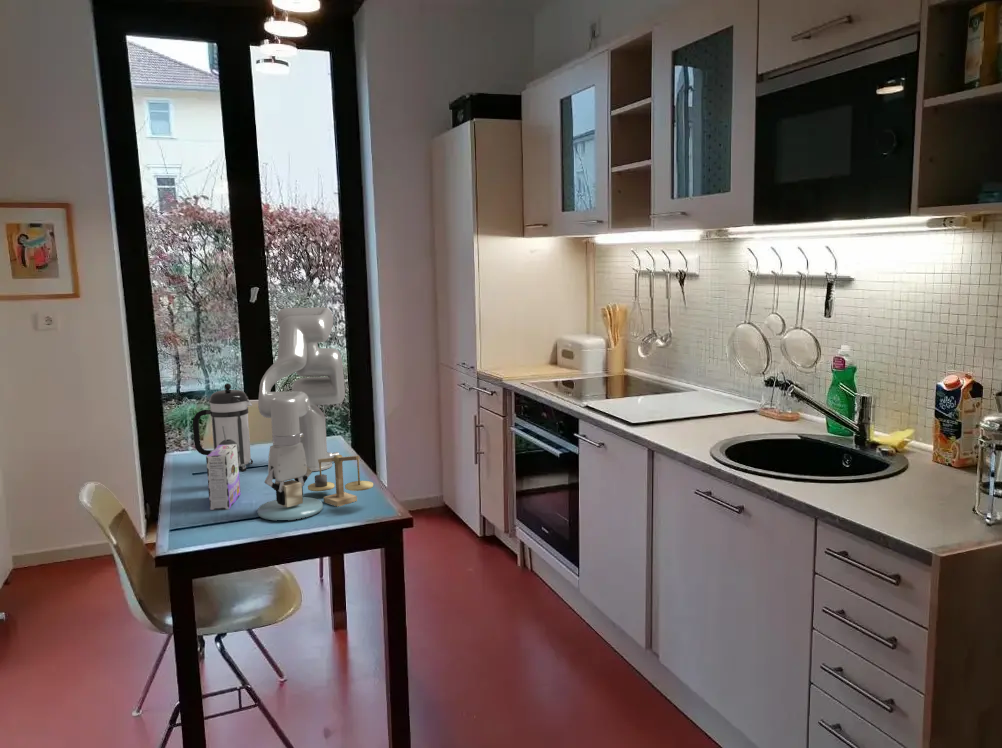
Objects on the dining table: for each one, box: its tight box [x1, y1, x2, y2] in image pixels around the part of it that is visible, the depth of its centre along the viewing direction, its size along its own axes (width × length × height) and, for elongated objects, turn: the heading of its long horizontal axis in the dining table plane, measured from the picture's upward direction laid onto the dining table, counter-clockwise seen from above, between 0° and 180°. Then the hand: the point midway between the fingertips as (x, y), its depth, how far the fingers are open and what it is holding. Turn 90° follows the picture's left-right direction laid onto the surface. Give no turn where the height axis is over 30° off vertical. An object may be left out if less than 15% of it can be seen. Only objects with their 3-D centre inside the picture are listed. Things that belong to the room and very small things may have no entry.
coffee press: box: [192, 382, 254, 472], centre depth 270 cm, size 17×16×30 cm
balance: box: [307, 454, 374, 508], centre depth 231 cm, size 8×28×16 cm, turn 47°
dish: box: [257, 496, 324, 521], centre depth 223 cm, size 18×18×2 cm
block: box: [280, 479, 303, 507], centre depth 223 cm, size 5×5×6 cm
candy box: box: [205, 444, 242, 511], centre depth 232 cm, size 14×6×16 cm, turn 5°
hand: (290, 501), depth 223 cm, fingers closed on block, 5 cm apart
